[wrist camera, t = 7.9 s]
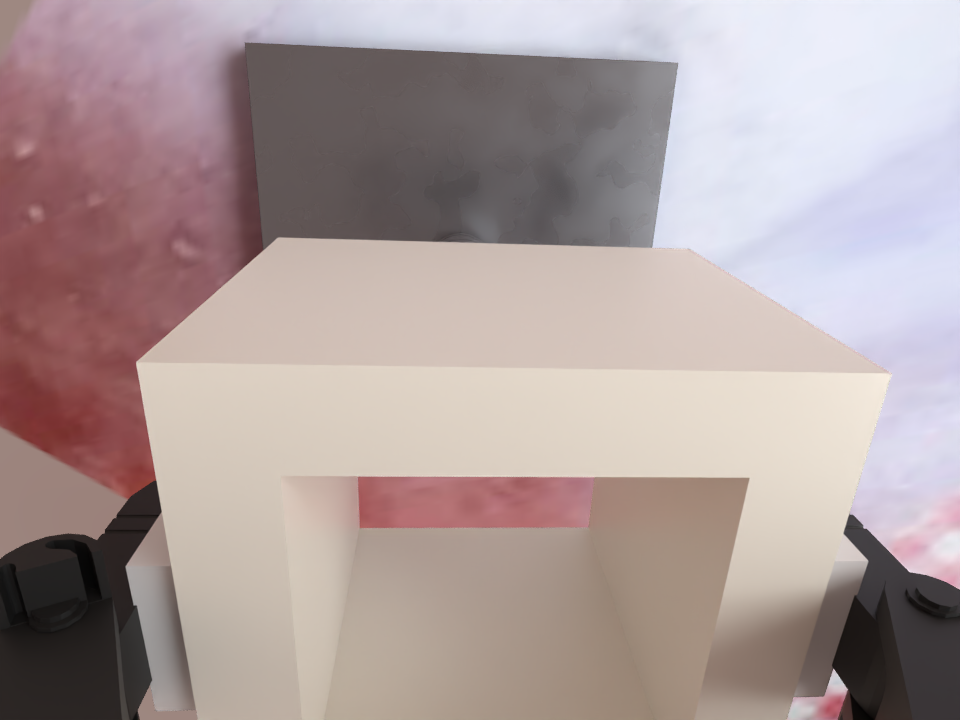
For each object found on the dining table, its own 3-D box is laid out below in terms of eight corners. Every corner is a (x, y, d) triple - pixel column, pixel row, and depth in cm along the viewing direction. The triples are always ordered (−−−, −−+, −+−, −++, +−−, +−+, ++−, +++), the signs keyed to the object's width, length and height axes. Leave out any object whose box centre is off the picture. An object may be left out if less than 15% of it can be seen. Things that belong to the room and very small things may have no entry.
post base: (618, 422, 36) (709, 589, 24) (285, 420, 34) (203, 594, 22) (666, 64, 29) (828, 43, 17) (254, 45, 28) (112, 7, 16)
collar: (636, 572, 18) (748, 844, 11) (304, 575, 17) (222, 864, 11) (689, 248, 14) (891, 372, 8) (278, 237, 14) (136, 362, 7)
